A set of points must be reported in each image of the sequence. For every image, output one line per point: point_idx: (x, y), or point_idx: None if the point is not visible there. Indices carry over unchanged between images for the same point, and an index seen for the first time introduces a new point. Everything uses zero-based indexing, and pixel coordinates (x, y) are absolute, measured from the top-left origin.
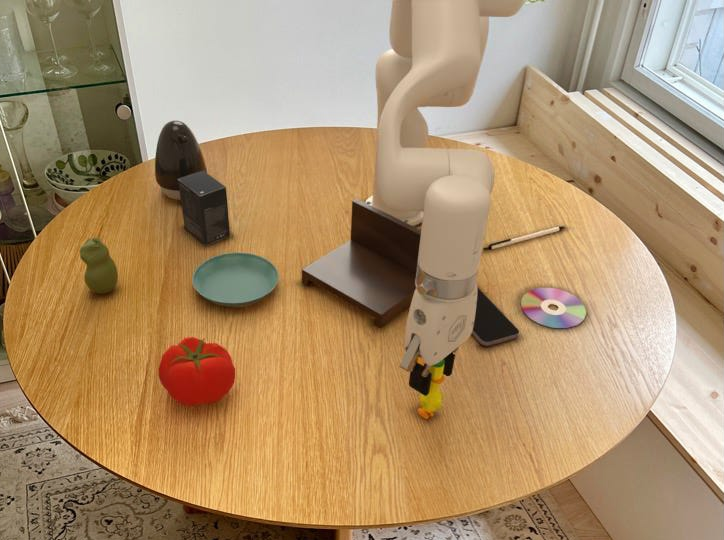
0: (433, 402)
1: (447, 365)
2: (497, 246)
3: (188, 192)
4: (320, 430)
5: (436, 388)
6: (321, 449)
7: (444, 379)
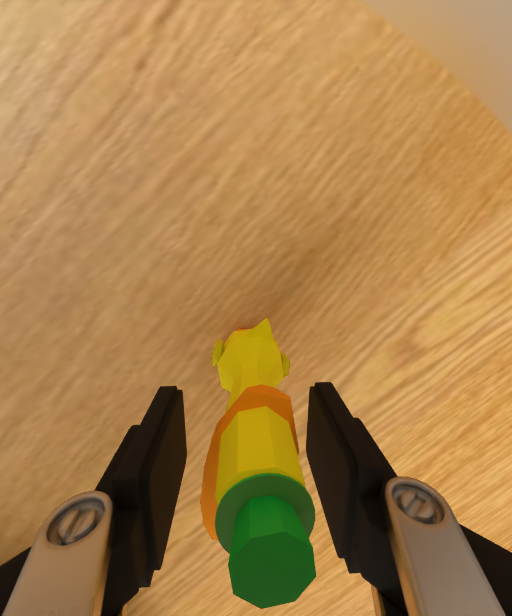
0: (272, 348)
1: (168, 436)
2: None
3: None
4: (430, 460)
5: (261, 379)
6: (471, 428)
7: (247, 389)
